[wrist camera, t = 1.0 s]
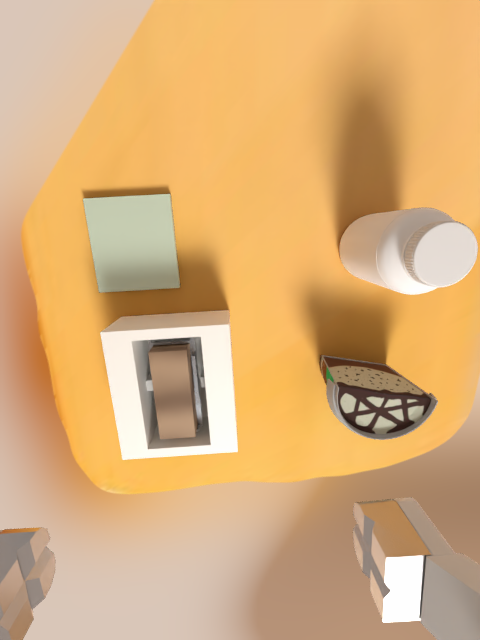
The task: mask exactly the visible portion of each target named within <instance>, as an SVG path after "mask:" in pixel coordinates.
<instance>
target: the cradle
mask: <svg viewBox="0 0 480 640" xmlns="http://www.w3.org/2000/svg"><path fill="white" fill-rule="evenodd" d="M184 343H190V352H191V362H192V372H193V381H194V391H195V401H196V411H197V421H198V425H197V431H196V432H199V428H200V427H203V417H202V407H201V396H200V386H199V384H200V380H199V376H198V365H197V355H196V345H195V337H187V338H172V339H156V340H149V348H150V349H151V348H152V347H153V345H168V344H184ZM149 363H150V362H149ZM150 370H151V369H150ZM151 377H152V376H151ZM153 392H154V391H153ZM154 399H155V398H154Z"/></svg>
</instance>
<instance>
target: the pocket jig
mask: <svg viewBox="0 0 480 640" xmlns="http://www.w3.org/2000/svg"><path fill="white" fill-rule="evenodd" d="M100 334H101V340H102V345H103V351H104V357H105V362H106V368H107V374H108V379H109V385H110V391H111V396H112V402H113V408H114V413H115V419H116V425H117V430H118V436H119V442H120V447H121V453H122V459H123V460H125V459H140V458H154V457H169V456H184V455H198V454H213V453H227V452H238V446H237V420H236V404H235V389H234V374H233V359H232V344H231V328H230V313H229V310H220V311H203V312H187V313H171V314H154V315H138V316H122V317H120V318H119V319H117V320H116V321H115V322H113V323H112V324H111V325H109V326H108V327H107V328H105V329H104V330H103V331H101V332H100ZM187 337H195V345H196V355H197V365H198V376H199V380H200V384H199V386H200V396H201V407H202V417H203V427H200V428H199V432H196V437H188V438H173V439H160V434H159V427H158V420H157V413H156V405H155V399H154V392H153V384H152V377H151V370H150V363H149V355H148V352H149V351H150V348H149V340H156V339H172V338H187Z"/></svg>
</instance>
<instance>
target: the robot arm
mask: <svg viewBox="0 0 480 640" xmlns="http://www.w3.org/2000/svg"><path fill="white" fill-rule="evenodd" d="M353 515H354V517H355V519H356V522H357V525H356V526H355V527H354V528H353V541H354V546H355V552H356V556H357V559H358V562H359V565H360V567H361V570H362V572H363V573H364V574H365V575H367V576H368V577H369V578H370V592H371V594H372V597H373V599H374V601H375V604H376V606H377V609H378V611H379V613H380V616H381V618H382V620H383V622H394V621H414V620H421V624H422V625H423V626H424V627H425V628H426V629H427V630H428V631H429V632H430V633H431V634H432V635H433V636H434V637H435V638H436V639H437V640H480V564H478V563H476V562H475V561H473V560H472V559H470V558H469V557H467V556H465V555H464V554H462V553H457V554H456V553H455V552H454V551H453V550H452V548H451V547H450V545H449V544H448V543H447V541H446V540H445V539H444V537H443V536H442V535H441V533H440V532H439V531H438V529H437V528H436V527H435V525H434V524H433V523H432V521H431V520H430V519H429V517H428V516H427V515H426V513H425V512H424V511H423V509H422V508H421V507H420V505H419V504H418V503H417V501H416V500H415V499H413V498H412V497H408V498H397V499H392V500H391V499H387V500H376V501H365V502H355V504H354V512H353ZM49 540H50V537H49V533H48V530H47V529H46V528H23V529H5V530H0V640H23V638H24V636H25V635H26V633H27V631H28V629H29V627H30V625H31V623H32V621H33V619H34V618H33V608H35V607H36V606H37V605H38V604H39V603H40V602H41V601H42V600H43V599H44V598H45V597H46V595H47V593H48V591H49V589H50V587H51V584H52V580H53V577H54V573H55V557H54V553H53V552H52V551H51V550H49V549H48V548H47V547H46V545H47V544H48V542H49Z"/></svg>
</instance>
